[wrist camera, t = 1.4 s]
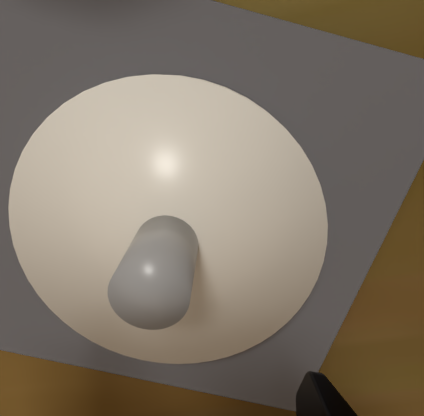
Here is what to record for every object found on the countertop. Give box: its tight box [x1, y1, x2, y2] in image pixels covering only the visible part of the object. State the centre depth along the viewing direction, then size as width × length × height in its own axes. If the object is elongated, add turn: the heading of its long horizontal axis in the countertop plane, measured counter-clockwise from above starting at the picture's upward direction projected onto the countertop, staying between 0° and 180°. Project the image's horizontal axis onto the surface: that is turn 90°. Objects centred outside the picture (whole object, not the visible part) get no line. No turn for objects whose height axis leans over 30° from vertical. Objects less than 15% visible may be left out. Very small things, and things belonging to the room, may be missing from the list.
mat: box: [0, 0, 424, 411], centre depth 15 cm, size 18×18×1 cm
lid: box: [8, 74, 328, 364], centre depth 12 cm, size 13×13×4 cm
